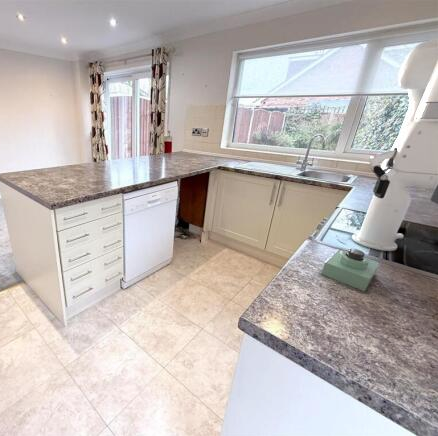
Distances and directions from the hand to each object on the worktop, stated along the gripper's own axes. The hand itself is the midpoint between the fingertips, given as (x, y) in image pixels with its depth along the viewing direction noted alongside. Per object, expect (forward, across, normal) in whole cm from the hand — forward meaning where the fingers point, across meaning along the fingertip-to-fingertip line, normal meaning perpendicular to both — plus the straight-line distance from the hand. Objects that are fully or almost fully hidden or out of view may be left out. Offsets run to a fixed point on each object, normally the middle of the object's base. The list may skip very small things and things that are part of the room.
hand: (406, 199), depth 53 cm
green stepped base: (+26, +1, -10) cm, 28 cm away
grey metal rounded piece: (+20, +1, -10) cm, 23 cm away
